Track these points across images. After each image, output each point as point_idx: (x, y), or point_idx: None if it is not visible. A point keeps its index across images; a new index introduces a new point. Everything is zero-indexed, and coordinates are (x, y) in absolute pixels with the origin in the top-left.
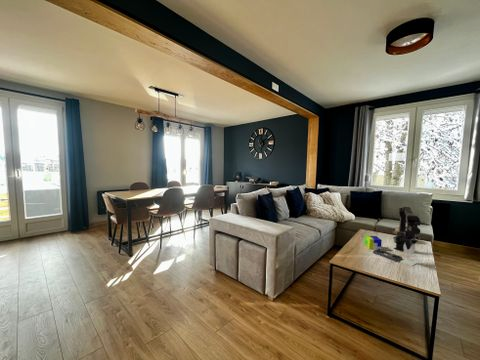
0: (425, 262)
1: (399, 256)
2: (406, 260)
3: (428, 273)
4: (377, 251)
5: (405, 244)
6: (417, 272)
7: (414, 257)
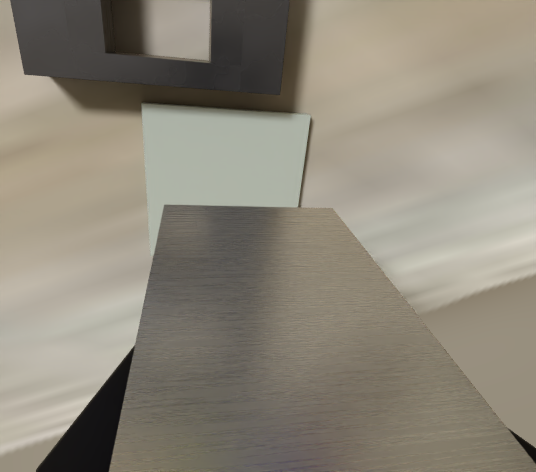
0: (422, 280)
1: (262, 49)
2: (269, 153)
3: None
4: None
5: (127, 433)
6: (24, 345)
7: (500, 164)
